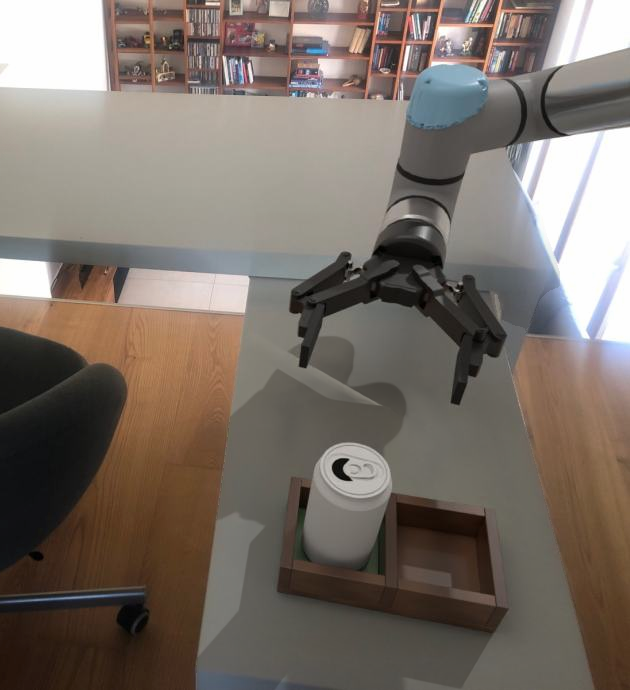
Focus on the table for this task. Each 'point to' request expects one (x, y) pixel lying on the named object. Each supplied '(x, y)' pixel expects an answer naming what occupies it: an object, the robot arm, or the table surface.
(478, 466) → the table surface
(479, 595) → the wooden compartment tray
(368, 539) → the beverage can
